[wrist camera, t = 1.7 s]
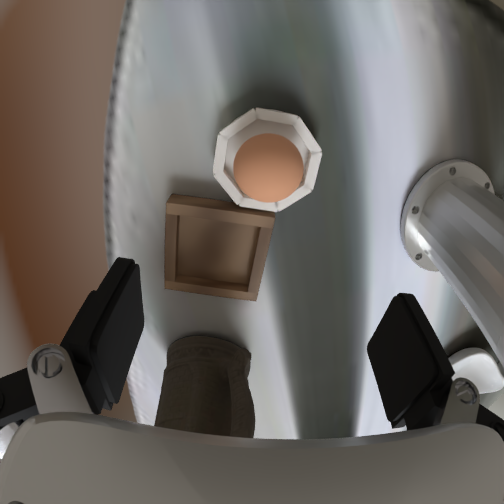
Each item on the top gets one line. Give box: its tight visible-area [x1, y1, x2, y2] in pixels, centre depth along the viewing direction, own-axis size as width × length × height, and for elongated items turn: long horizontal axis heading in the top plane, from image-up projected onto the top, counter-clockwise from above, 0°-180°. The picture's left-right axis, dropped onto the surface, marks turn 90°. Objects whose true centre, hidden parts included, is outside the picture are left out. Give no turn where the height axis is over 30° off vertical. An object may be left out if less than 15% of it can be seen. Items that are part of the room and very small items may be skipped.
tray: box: [165, 194, 275, 301], centre depth 28 cm, size 9×9×2 cm
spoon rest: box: [448, 348, 504, 394], centre depth 39 cm, size 24×12×7 cm, turn 78°
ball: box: [233, 133, 304, 203], centre depth 21 cm, size 5×5×5 cm
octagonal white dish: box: [213, 107, 322, 212], centre depth 23 cm, size 8×8×2 cm
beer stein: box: [154, 336, 255, 438], centre depth 28 cm, size 15×11×20 cm
